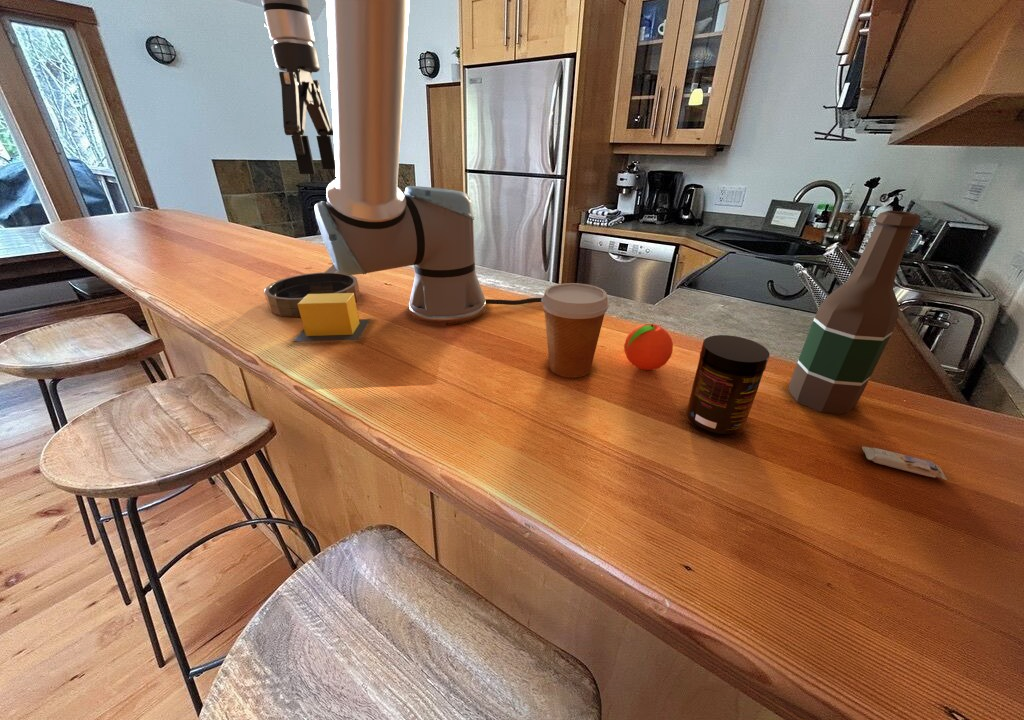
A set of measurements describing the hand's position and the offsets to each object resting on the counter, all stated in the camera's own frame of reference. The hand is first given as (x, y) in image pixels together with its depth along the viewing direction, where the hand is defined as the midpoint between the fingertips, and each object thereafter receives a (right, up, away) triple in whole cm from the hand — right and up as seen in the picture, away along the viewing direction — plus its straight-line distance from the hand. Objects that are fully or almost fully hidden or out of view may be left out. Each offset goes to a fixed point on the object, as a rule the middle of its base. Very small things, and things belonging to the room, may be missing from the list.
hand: (319, 171), depth 86 cm
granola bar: (+82, -51, -42) cm, 105 cm away
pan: (-1, -28, +1) cm, 28 cm away
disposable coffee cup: (+49, -41, -23) cm, 68 cm away
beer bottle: (+82, -45, -30) cm, 98 cm away
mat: (+8, -34, -11) cm, 37 cm away
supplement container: (+65, -47, -35) cm, 88 cm away
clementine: (+60, -41, -23) cm, 76 cm away
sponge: (+8, -34, -12) cm, 37 cm away
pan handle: (-2, -19, +13) cm, 23 cm away
